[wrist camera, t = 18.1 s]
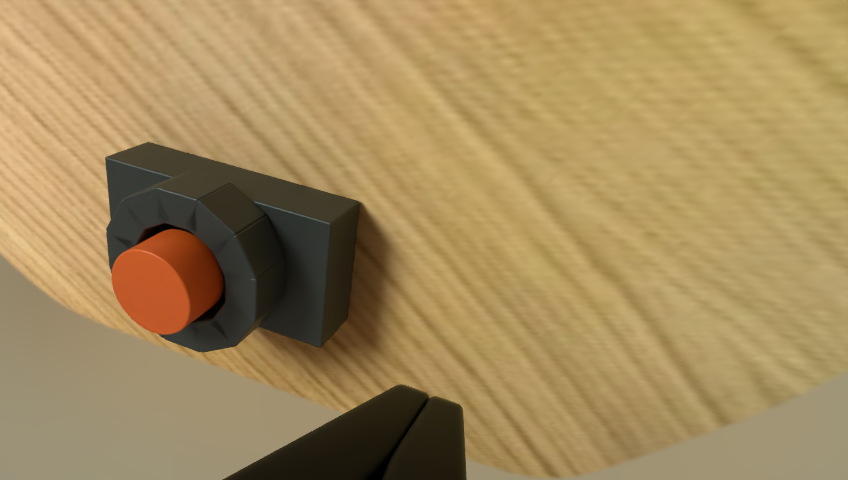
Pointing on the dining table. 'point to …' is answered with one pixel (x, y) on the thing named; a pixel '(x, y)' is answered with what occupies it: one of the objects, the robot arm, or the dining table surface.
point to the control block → (241, 242)
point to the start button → (167, 281)
